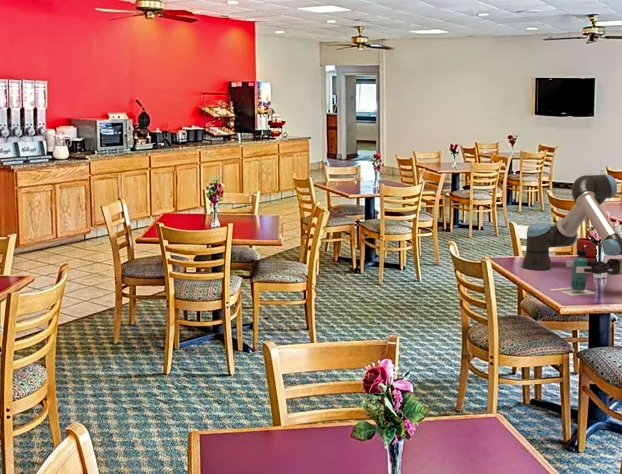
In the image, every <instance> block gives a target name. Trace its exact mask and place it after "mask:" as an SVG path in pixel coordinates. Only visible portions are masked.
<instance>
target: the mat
mask: <svg viewBox="0 0 622 474" xmlns="http://www.w3.org/2000/svg"><path fill="white" fill-rule="evenodd" d="M559 293H561V294H563V295H566V296H568V297H576V296H588V295H596V294H597V293H596V292H594V291H591V290H590V289H589V290H588V289H587V288H586V289H585V290H583V291H577V290H565V291H559Z"/></svg>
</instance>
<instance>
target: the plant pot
mask: <svg viewBox="0 0 622 474" xmlns="http://www.w3.org/2000/svg"><path fill="white" fill-rule="evenodd" d="M589 238H590V237H579V238H578V237H577V240H576V251H577V250H584V251H586V255H585V256H580V255H576V257H585V258H586V259H587V260H588V261H596V260H597V258H596V255H597V249H596V245H594V244H593V243H592V242H591V241H590V239H589ZM597 261H598V260H597Z"/></svg>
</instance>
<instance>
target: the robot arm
mask: <svg viewBox="0 0 622 474" xmlns="http://www.w3.org/2000/svg"><path fill="white" fill-rule="evenodd" d="M617 192H618V184H617V180H616V179H615V178H614V176H612V175H611V174H591V175H590V174H589V175H588V174H587V175H586V174H585V175H581V176H579V177H578V178H577V179H575V180H574V182H573V184H572V185H571V195H572V199H573V201H574V203H575V204H574V205H573V207H571V209H570V210H569V212H567V214H566V215H565V217H564V218H561V219H559V220H558V221H557V222H556V223H555V224H553V225H551V224H550V223H548V222H537V223H536V222H535V223H533V224H530V225H528V227H527V230H526V247H525V255H524V257H523V259H522V263H521V267H522V268H523V269H527V270H531V271H532V270H533V271H549V270H551V269H552V261H551V257H550V254H549V253H550V248H566V247H571V246H573V245H574V244H575V243H577V239H578V228H580V226H581V225H582V224H583V223H584V221H586V219H587V218H588V220H589V221H590V223H591V224H592V226H593V227H594V229H595V231H596V232H597V233H598V236H599V237H600V240H601V241H602V244H601V249H602V252H603V253H604V254H605V255H606V256H615V257H616V256H622V237H621V236H620V234H619V232H618V231H617V230H616V228H615V227H614V225H613V223H612V222H611V220H610V219H609V218H608V216H607V214H606V213H605V211H604V210H603V208H602V206H601V205H602V204H603V203H604V202H605V201H606V199H612V198H614V197H615V196H616V195H617ZM573 262H574V260H566V268H573ZM576 273H587V274H594V275H601V274H608V275H609V276H610V275H611V276H617V275H622V258H609V259H608V260H607V261H606V262H605V261H601V260H597V261H588V262H587V267H576Z"/></svg>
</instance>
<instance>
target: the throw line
mask: <svg viewBox="0 0 622 474" xmlns="http://www.w3.org/2000/svg"><path fill="white" fill-rule="evenodd" d="M587 288H588V287H587V286H586V287H585V289H586V290H587ZM569 290H572V289H571V287H563V288H562V287H561V288H560V287H559V288H552V289H548V291H549V292H550V293H551V292H552V293H553V292H554V293H555V292H560V291H569Z"/></svg>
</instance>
